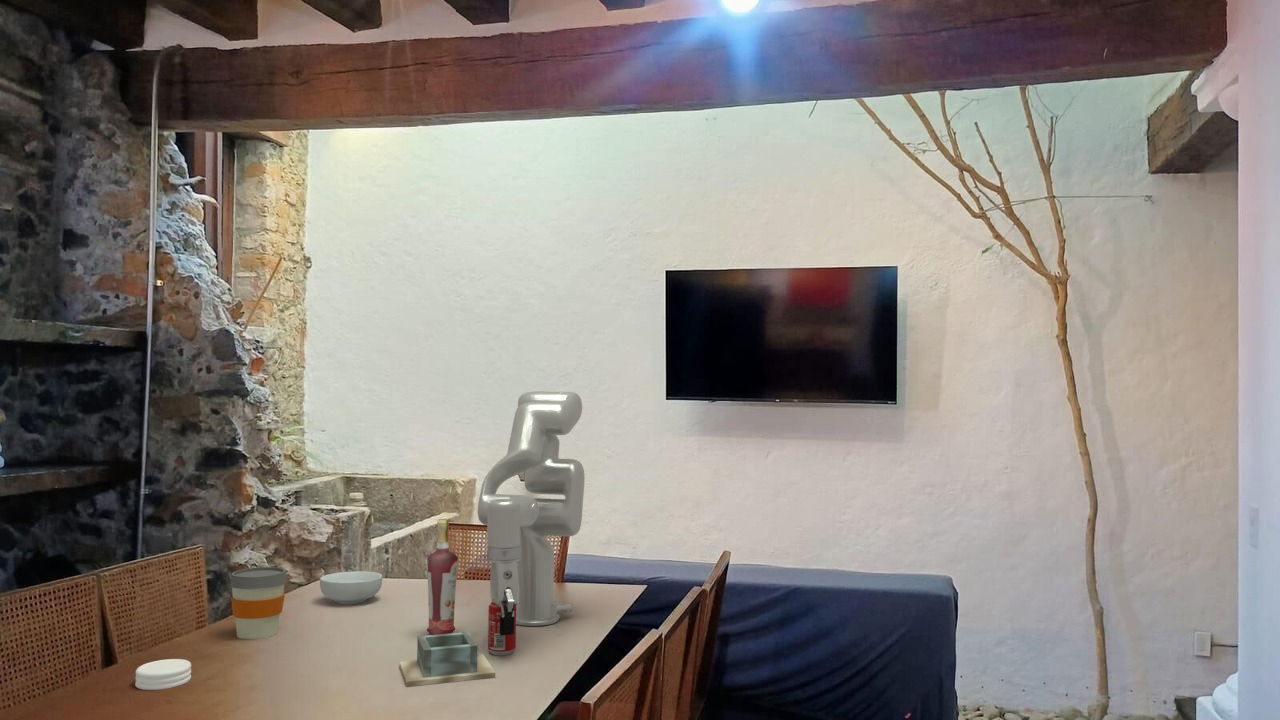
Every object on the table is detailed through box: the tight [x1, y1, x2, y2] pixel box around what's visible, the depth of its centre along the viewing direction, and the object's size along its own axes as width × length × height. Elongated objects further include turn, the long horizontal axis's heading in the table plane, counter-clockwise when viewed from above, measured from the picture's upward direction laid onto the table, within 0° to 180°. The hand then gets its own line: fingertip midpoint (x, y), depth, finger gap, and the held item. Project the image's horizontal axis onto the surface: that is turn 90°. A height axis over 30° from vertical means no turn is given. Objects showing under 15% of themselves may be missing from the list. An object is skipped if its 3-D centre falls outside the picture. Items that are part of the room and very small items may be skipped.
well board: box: [399, 631, 496, 688], centre depth 187 cm, size 18×14×6 cm
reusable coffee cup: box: [230, 566, 287, 640], centre depth 214 cm, size 13×13×15 cm
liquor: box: [426, 518, 458, 635], centre depth 215 cm, size 7×7×28 cm
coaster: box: [134, 658, 192, 691], centre depth 179 cm, size 10×10×4 cm
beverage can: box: [487, 599, 517, 656], centre depth 201 cm, size 6×6×12 cm
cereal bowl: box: [319, 570, 383, 605], centre depth 248 cm, size 17×17×7 cm
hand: (502, 629), depth 201 cm, fingers open, 9 cm apart
